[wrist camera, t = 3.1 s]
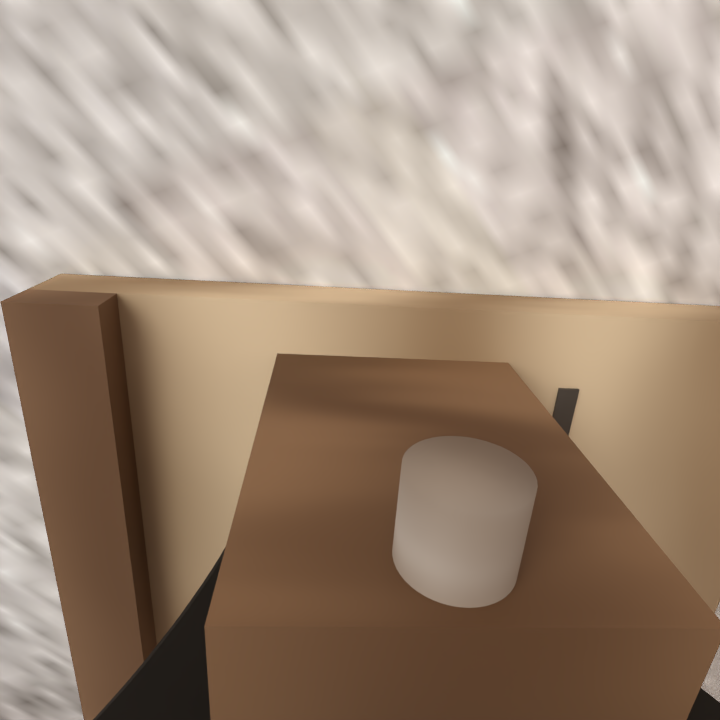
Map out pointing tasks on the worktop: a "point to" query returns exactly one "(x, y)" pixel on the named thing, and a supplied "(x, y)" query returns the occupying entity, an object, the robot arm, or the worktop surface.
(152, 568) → the board
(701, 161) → the worktop surface
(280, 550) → the block with white pegs
